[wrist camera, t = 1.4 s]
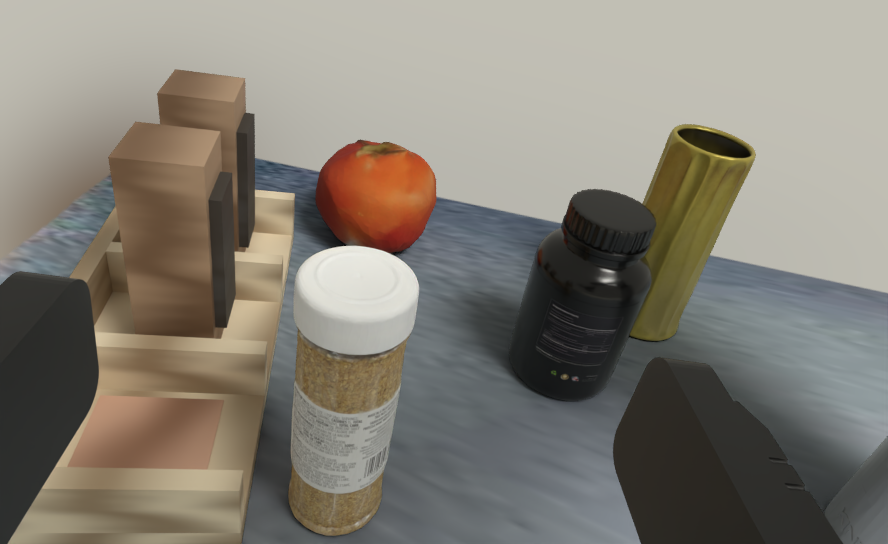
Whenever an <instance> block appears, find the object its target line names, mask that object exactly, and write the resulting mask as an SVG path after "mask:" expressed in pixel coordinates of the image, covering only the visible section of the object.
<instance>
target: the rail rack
mask: <svg viewBox="0 0 888 544" xmlns="http://www.w3.org/2000/svg"><path fill="white" fill-rule="evenodd" d="M157 95H158V105H159V115H160V124H151V123H141V122H135V123H134V125H133V126H132V127H131V128H130V129H129V131H128V132H127V133H126V135H125V136H124V137H123V139H122V140H121V141H120V143H119V144H118V145H117V147H116V148H115V149H114V150H113V152H112V153H111V154H110V156H109V157H108V158H109V165H110V171H111V178H112V184H113V191H114V197H115V204H116V206H115V208H114V209H113V211H112V212H111V214H110V215H109V217H108V218H107V220H106V221H105V223H104V225H103V226H102V228H101V229H100V231H99V232H98V234H97V235H96V237H95V238H94V240H93V242H92V243H91V245H90V246H89V248H88V249H87V251H86V252H85V254H84V255H83V257H82V259H81V260H80V262H79V263H78V265H77V266H76V268H75V269H74V271H73V272H72V274H71V275H70V277H69V278H75V279H82V280H84V281H85V282H86V283H87V285H88V288H89V291H90V296H91V304H92V313H93V321H94V330H95V338H96V347H97V355H98V364H99V379H98V386H97V390H96V394H95V398H94V401H93V403H92V406H91V408H90V410H89V412H88V414H87V416H86V418H85V419H84V421H83V422H82V424H81V426H80V427H79V429H78V430H77V432H76V434H75V435H74V437H73V439H72V440H71V442H70V443H69V445H68V447H67V448H66V450H65V452H64V453H63V455H62V456H61V458H60V460H59V461H58V463H57V464H56V466H55V468H54V469H53V471H52V473H51V474H50V476H49V477H48V479H47V481H46V482H45V484H44V486H43V487H42V489H41V490H40V492H39V494H38V495H37V497H36V498H35V500H34V502H33V503H32V505H31V507H30V508H29V510H28V511H27V513H26V515H25V516H24V518H23V520H22V521H21V523H20V524H19V526H18V528H17V529H16V531H15V532H14V534H13V536H12V537H11V539H10V541H9V542H8V544H241V543H242V537H243V531H244V526H245V520H246V514H247V508H248V502H249V496H250V490H251V485H252V479H253V473H254V467H255V461H256V455H257V449H258V444H259V438H260V432H261V426H262V420H263V414H264V408H265V403H266V397H267V391H268V385H269V379H270V373H271V367H272V362H273V356H274V350H275V344H276V338H277V332H278V326H279V321H280V315H281V309H282V303H283V297H284V291H285V285H286V280H287V274H288V268H289V262H290V256H291V250H292V244H293V235H294V206H295V194H293V193H283V192H272V191H262V190H255V144H254V143H255V135H254V133H255V131H254V130H255V129H254V114H250V113H246V106H245V105H246V104H245V78H239V77H231V76H222V75H215V74H206V73H199V72H192V71H184V70H175V71H174V72H173V73H172V75H171V76H170V77H169V79H168V80H167V81H166V82H165V84H164V85H163V86H162V88H161V89H160V90H159V92H158V93H157Z"/></svg>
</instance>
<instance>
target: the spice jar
mask: <svg viewBox="0 0 888 544" xmlns="http://www.w3.org/2000/svg"><path fill="white" fill-rule="evenodd" d="M418 296H419V284H418V281H417V278H416V276H415V274H414V273H413V271H412V270H411V268H410V267H409V266H408V265H407V264H406V263H404V262H403V261H402V260H400V259H399V258H397V257H395V256H394V255H392V254H389V253H387V252H385V251H381V250H378V249H374V248H369V247H362V246H341V247H335V248H330V249H326V250H323V251H321V252H318V253H316V254H314V255H313V256H311V257H310V258H308V259H307V260H306V261H305V262H304V263H303V264H302V265H301V267H300V268H299V270H298V272H297V275H296V279H295V289H294V309H293V315H294V320H295V323H296V325H297V328H298V337H297V341H298V344H297V357H296V358H297V359H296V371H295V373H296V376H295V382H294V399H293V407H292V431H291V460H292V471H291V473H292V476H291V480H290V484H289V490H288V497H289V504H290V507H291V510H292V512H293V514H294V516H295V518H296V519H297V520H298V521H299V522H301V523H302V524H303V525H304V526H305V527H306V528H308V529H310V530H312V531H314V532H316V533H319V534H323V535H325V536H328V535H329V536H337V535H342V534H348V533H351V532H353V531H356V530H358V529H360V528H362V527H363V526H364V525H365V524H367V523H368V522H369V521H370V520H371V519H372V517H373V515H374V514H375V513H376V512H377V510H378V508H379V504H380V501H381V497H382V486H381V484H382V479H383V471H384V468H385V466H386V463H387V459H388V454H389V448H390V443H391V437H392V432H393V426H394V421H395V416H396V410H397V404H398V399H399V393H400V387H401V372H402V366H403V360H404V352H405V347H406V341H407V340H408V338H409V336H410V334H411V331H412V329H413V327H414V323H415V317H416V311H417V304H418Z"/></svg>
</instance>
